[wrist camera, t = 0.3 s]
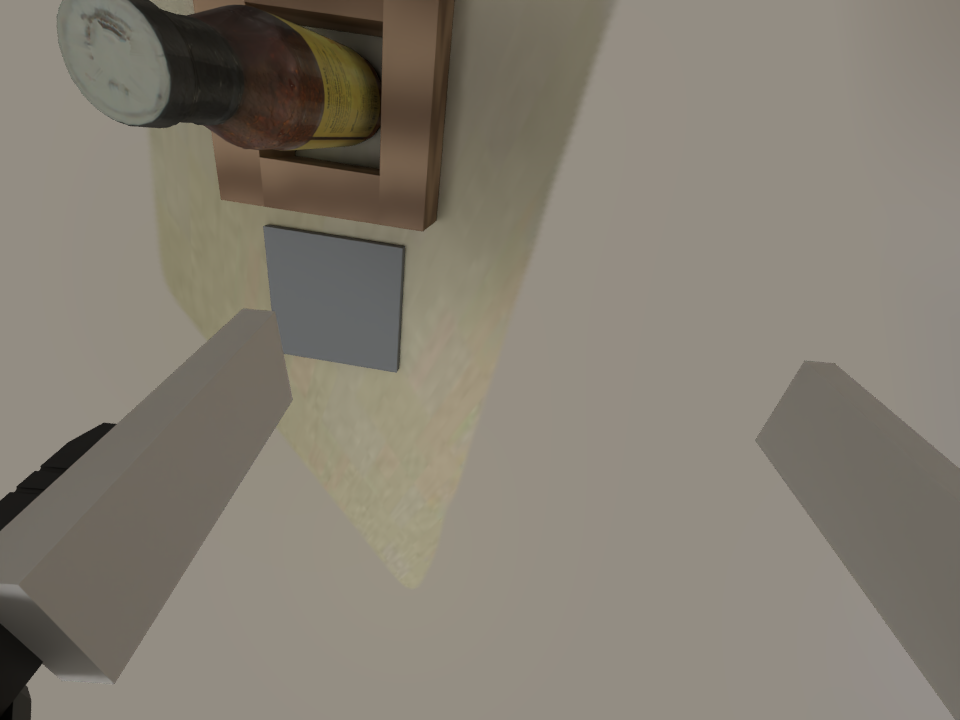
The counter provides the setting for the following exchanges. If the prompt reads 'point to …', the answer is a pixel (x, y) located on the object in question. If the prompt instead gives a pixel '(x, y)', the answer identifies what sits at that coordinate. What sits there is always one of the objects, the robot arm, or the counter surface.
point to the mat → (336, 296)
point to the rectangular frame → (404, 120)
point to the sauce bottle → (219, 74)
